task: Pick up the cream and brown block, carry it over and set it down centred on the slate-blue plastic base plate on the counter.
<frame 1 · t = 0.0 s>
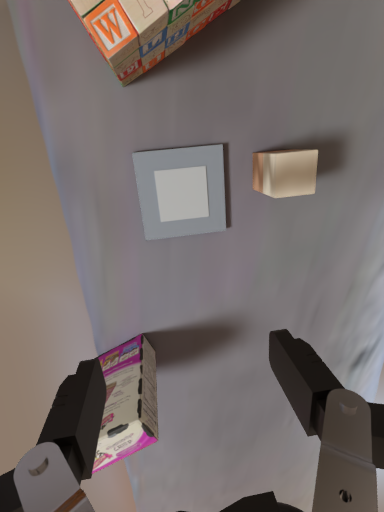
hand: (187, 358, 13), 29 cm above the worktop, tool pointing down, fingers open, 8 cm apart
stack of blocks: (180, 7, 31), on the worktop
base plate: (181, 193, 39), on the worktop
cream and brown block: (269, 169, 39), on the worktop
candy bar box: (123, 355, 48), on the worktop
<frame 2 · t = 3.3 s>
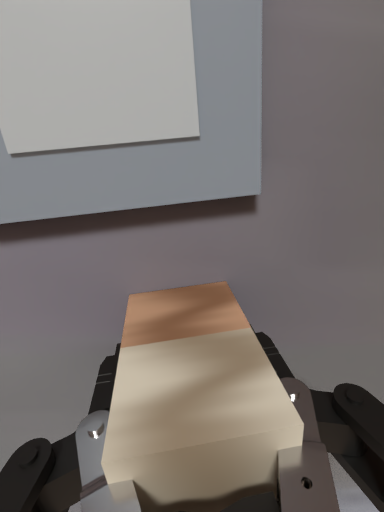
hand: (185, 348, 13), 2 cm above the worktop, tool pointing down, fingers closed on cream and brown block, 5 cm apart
base plate: (91, 40, 10), on the worktop
cream and brown block: (183, 327, 15), on the worktop, touching gripper
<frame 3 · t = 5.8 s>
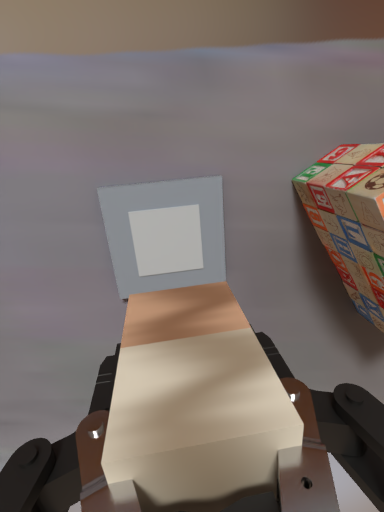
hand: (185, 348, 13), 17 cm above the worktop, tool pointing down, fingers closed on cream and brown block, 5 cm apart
stack of blocks: (348, 238, 33), on the worktop
base plate: (167, 238, 29), on the worktop
cream and brown block: (183, 327, 15), point 16 cm above the worktop, touching gripper
when the fingers open (4 cm above the worktop, at t = 8.7 s): cream and brown block drops 1 cm, resting on base plate.
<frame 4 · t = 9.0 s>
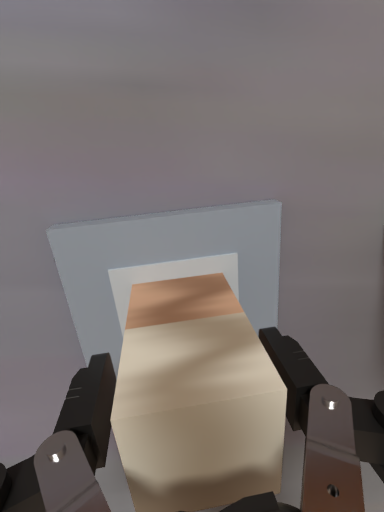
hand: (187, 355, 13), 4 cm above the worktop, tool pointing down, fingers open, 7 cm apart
base plate: (179, 306, 17), on the worktop
cream and brown block: (182, 316, 16), point 1 cm above the worktop, touching base plate
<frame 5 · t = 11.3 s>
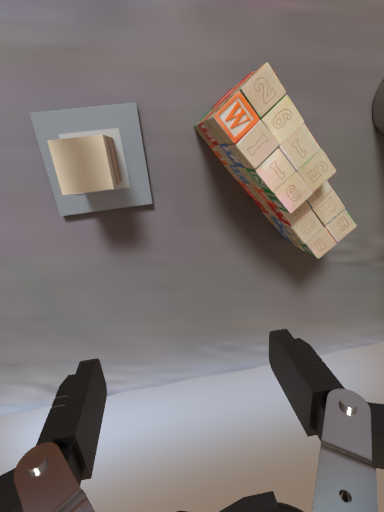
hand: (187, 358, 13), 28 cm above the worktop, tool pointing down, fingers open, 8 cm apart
stack of blocks: (258, 172, 38), on the worktop
base plate: (97, 161, 34), on the worktop
cream and brown block: (96, 162, 33), point 1 cm above the worktop, touching base plate
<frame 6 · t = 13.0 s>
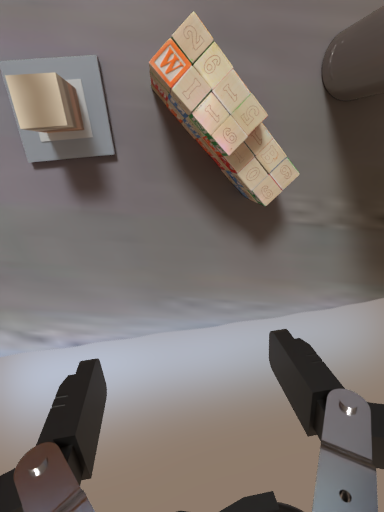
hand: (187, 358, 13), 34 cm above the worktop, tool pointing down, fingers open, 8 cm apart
stack of blocks: (215, 131, 41), on the worktop
base plate: (62, 112, 37), on the worktop
cream and brown block: (60, 111, 36), point 1 cm above the worktop, touching base plate
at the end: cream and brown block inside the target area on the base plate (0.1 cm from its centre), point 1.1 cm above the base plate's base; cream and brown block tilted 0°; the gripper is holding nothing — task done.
